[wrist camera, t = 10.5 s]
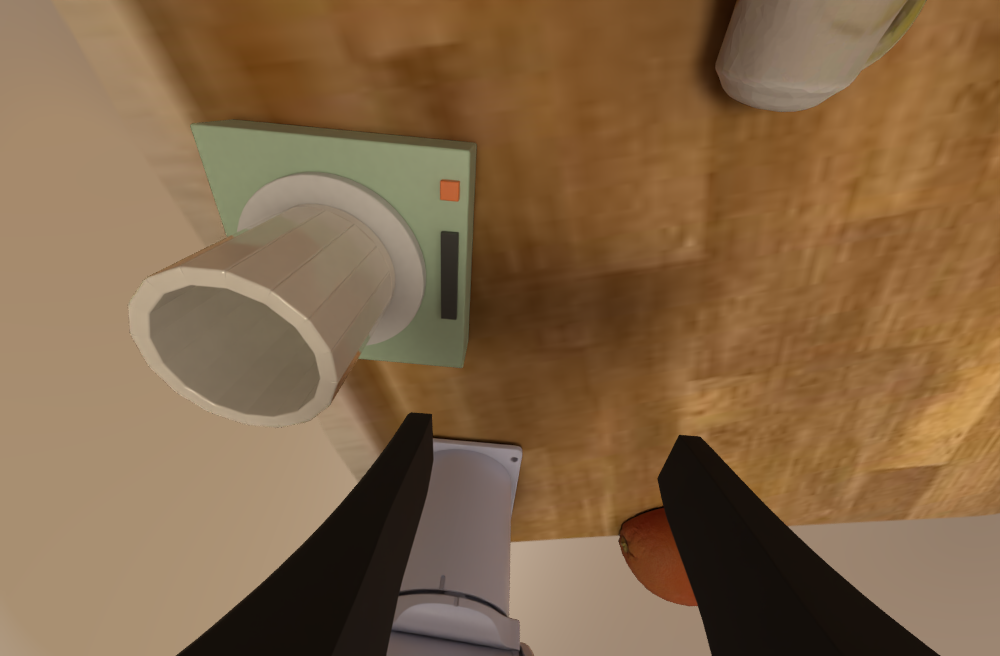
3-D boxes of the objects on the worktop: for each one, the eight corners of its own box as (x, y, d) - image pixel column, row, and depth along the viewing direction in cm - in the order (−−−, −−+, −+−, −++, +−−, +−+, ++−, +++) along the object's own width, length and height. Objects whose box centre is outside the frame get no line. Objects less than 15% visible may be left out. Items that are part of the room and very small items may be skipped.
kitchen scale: (468, 341, 20) (461, 376, 18) (289, 325, 20) (256, 358, 18) (476, 142, 15) (468, 153, 12) (232, 118, 15) (174, 124, 12)
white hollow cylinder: (400, 330, 17) (348, 435, 12) (280, 319, 17) (176, 419, 12) (390, 210, 14) (315, 279, 9) (245, 196, 14) (84, 257, 9)
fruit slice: (620, 513, 27) (611, 502, 32) (639, 622, 25) (626, 592, 30) (740, 504, 26) (712, 494, 31) (770, 616, 24) (736, 586, 29)
